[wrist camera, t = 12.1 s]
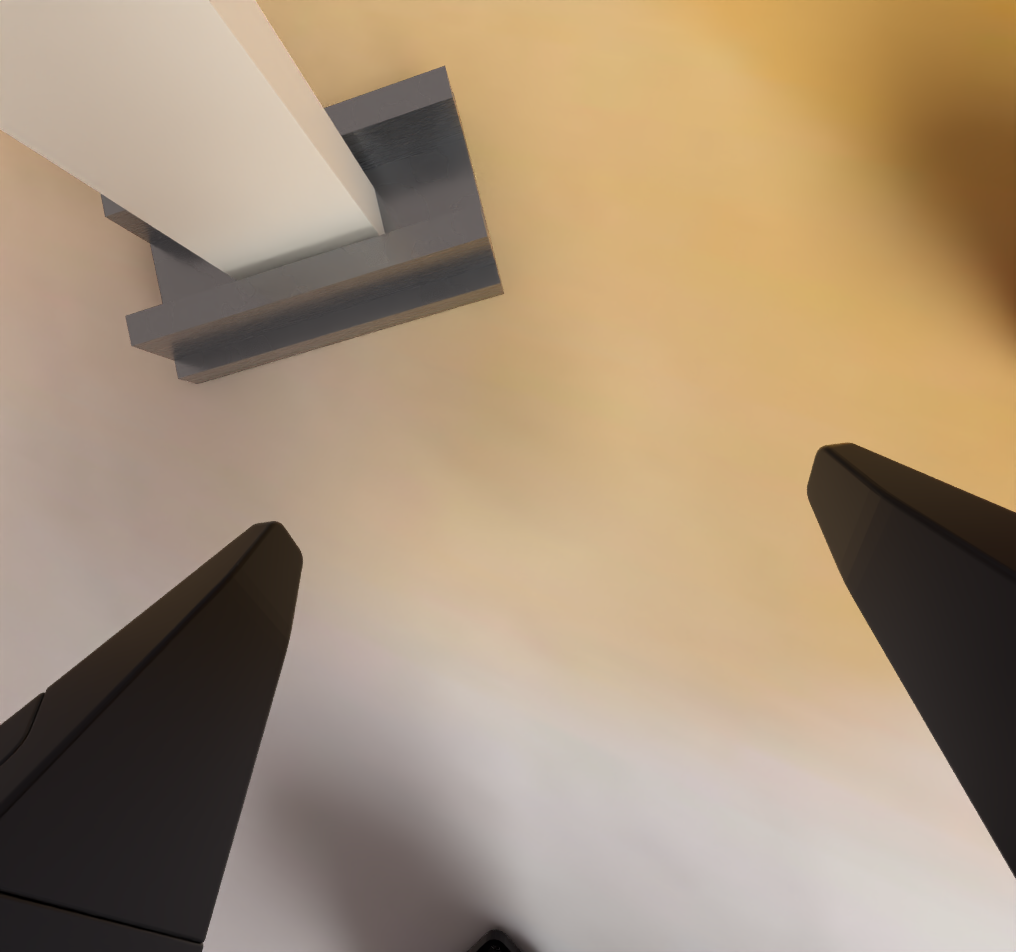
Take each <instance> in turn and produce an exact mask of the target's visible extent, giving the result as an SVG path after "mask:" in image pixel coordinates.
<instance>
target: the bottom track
mask: <svg viewBox="0 0 1016 952" xmlns="http://www.w3.org/2000/svg"><path fill="white" fill-rule="evenodd" d="M324 110H325V111H326V113H327V114H328V116H329V118H330V119H331V121H332V122H333V124H334V126H335V127H336V129H337V130H338V132H339V133H340V135H341V137H342V138H343V140H344V141H345V143H346V145H347V146H348V148H349V149H350V151H351V152H352V154H353V156H354V157H355V159H356V160H357V162H358V164H359V165H360V167H361V168H362V170H363V171H364V173H365V175H366V176H367V178H368V179H369V181H370V183H371V184H372V186H373V187H374V189H375V194H376V198H377V202H378V206H379V210H380V215H381V219H382V223H383V227H384V232H385V234H382V235H379V236H376V237H373V238H370V239H367V240H363V241H360V242H357V243H354V244H351V245H348V246H344V247H341V248H338V249H335V250H332V251H329V252H326V253H322V254H319V255H316V256H313V257H310V258H307V259H303V260H300V261H297V262H294V263H291V264H288V265H285V266H281V267H278V268H275V269H272V270H269V271H266V272H262V273H259V274H256V275H253V276H250V277H247V278H244V279H240V280H235V279H234V278H232V277H231V276H229V275H228V274H226V273H224V272H223V271H221V270H220V269H218V268H217V267H215V266H213V265H212V264H210V263H209V262H207V261H206V260H204V259H202V258H201V257H199V256H198V255H196V254H195V253H193V252H191V251H190V250H188V249H187V248H185V247H184V246H182V245H181V244H179V243H177V242H176V241H174V240H173V239H171V238H170V237H168V236H166V235H165V234H163V233H162V232H160V231H159V230H157V229H155V228H154V227H152V226H151V225H149V224H148V223H146V222H144V221H143V220H141V219H140V218H138V217H137V216H135V215H134V214H132V213H130V212H129V211H127V210H126V209H124V208H123V207H121V206H119V205H118V204H116V203H115V202H113V201H112V200H110V199H108V198H107V197H105V196H104V195H102V194H101V198H102V203H103V208H104V213H105V217H107V218H108V219H110V220H112V221H113V222H115V223H117V224H118V225H120V226H122V227H123V228H125V229H127V230H128V231H130V232H132V233H134V234H135V235H137V236H139V237H140V238H142V239H144V240H145V241H147V242H149V243H150V245H151V250H152V255H153V259H154V264H155V269H156V274H157V279H158V283H159V288H160V293H161V298H162V303H163V304H162V305H158V306H155V307H152V308H149V309H146V310H143V311H139V312H136V313H133V314H130V315H127V316H126V321H127V326H128V331H129V335H130V340H131V345H132V346H133V347H136V348H139V349H142V350H145V351H148V352H151V353H154V354H157V355H160V356H163V357H166V358H169V359H172V360H175V365H176V370H177V374H178V379H181V380H185V381H188V382H192V383H195V384H198V383H201V382H205V381H208V380H212V379H215V378H218V377H222V376H225V375H229V374H232V373H235V372H239V371H242V370H246V369H249V368H252V367H256V366H259V365H263V364H266V363H269V362H273V361H276V360H279V359H283V358H286V357H290V356H293V355H296V354H300V353H303V352H307V351H310V350H313V349H317V348H320V347H324V346H327V345H330V344H334V343H337V342H341V341H344V340H347V339H351V338H354V337H358V336H361V335H364V334H368V333H371V332H375V331H378V330H381V329H385V328H388V327H392V326H395V325H398V324H402V323H405V322H409V321H412V320H415V319H419V318H422V317H426V316H429V315H432V314H436V313H439V312H442V311H446V310H449V309H453V308H456V307H459V306H463V305H466V304H470V303H473V302H476V301H480V300H483V299H487V298H490V297H493V296H497V295H500V294H504V292H503V288H502V284H501V280H500V276H499V272H498V268H497V264H496V260H495V256H494V252H493V248H492V244H491V240H490V236H489V232H488V228H487V224H486V220H485V216H484V212H483V208H482V204H481V200H480V196H479V192H478V188H477V184H476V180H475V176H474V172H473V168H472V164H471V160H470V156H469V152H468V148H467V144H466V140H465V136H464V132H463V128H462V124H461V120H460V116H459V112H458V108H457V105H456V101H455V98H454V94H453V92H452V89H451V86H450V82H449V78H448V75H447V71H446V68H445V66H443V67H440V68H437V69H434V70H431V71H429V72H426V73H423V74H420V75H417V76H414V77H412V78H409V79H406V80H403V81H400V82H397V83H395V84H392V85H389V86H386V87H383V88H380V89H377V90H375V91H372V92H369V93H366V94H363V95H360V96H358V97H355V98H352V99H349V100H346V101H343V102H341V103H338V104H335V105H332V106H329V107H326V108H324Z"/></svg>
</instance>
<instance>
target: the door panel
mask: <svg viewBox="0 0 1016 952" xmlns="http://www.w3.org/2000/svg"><path fill="white" fill-rule="evenodd" d="M0 130H2V131H3V132H5V133H7V134H8V135H10V136H11V137H13V138H14V139H16V140H18V141H19V142H21V143H22V144H24V145H25V146H27V147H29V148H30V149H32V150H33V151H35V152H36V153H38V154H40V155H41V156H43V157H44V158H46V159H47V160H49V161H50V162H52V163H54V164H55V165H57V166H58V167H60V168H61V169H63V170H65V171H66V172H68V173H69V174H71V175H72V176H74V177H76V178H77V179H79V180H80V181H82V182H83V183H85V184H87V185H88V186H90V187H91V188H93V189H94V190H96V191H97V192H99V193H101V194H102V195H104V196H105V197H107V198H108V199H110V200H112V201H113V202H115V203H116V204H118V205H119V206H121V207H123V208H124V209H126V210H127V211H129V212H130V213H132V214H134V215H135V216H137V217H138V218H140V219H141V220H143V221H144V222H146V223H148V224H149V225H151V226H152V227H154V228H155V229H157V230H159V231H160V232H162V233H163V234H165V235H166V236H168V237H170V238H171V239H173V240H174V241H176V242H177V243H179V244H181V245H182V246H184V247H185V248H187V249H188V250H190V251H191V252H193V253H195V254H196V255H198V256H199V257H201V258H202V259H204V260H206V261H207V262H209V263H210V264H212V265H213V266H215V267H217V268H218V269H220V270H221V271H223V272H224V273H226V274H228V275H229V276H231V277H232V278H234V279H235V280H240V279H244V278H247V277H250V276H253V275H256V274H259V273H262V272H266V271H269V270H272V269H275V268H278V267H281V266H285V265H288V264H291V263H294V262H297V261H300V260H303V259H307V258H310V257H313V256H316V255H319V254H322V253H326V252H329V251H332V250H335V249H338V248H341V247H344V246H348V245H351V244H354V243H357V242H360V241H363V240H367V239H370V238H373V237H376V236H379V235H382V234H385V232H384V227H383V223H382V219H381V215H380V210H379V206H378V202H377V198H376V194H375V189H374V187H373V186H372V184H371V183H370V181H369V179H368V178H367V176H366V175H365V173H364V171H363V170H362V168H361V167H360V165H359V164H358V162H357V160H356V159H355V157H354V156H353V154H352V152H351V151H350V149H349V148H348V146H347V145H346V143H345V141H344V140H343V138H342V137H341V135H340V133H339V132H338V130H337V129H336V127H335V126H334V124H333V122H332V121H331V119H330V118H329V116H328V114H327V113H326V111H325V110H324V108H323V107H322V105H321V103H320V102H319V100H318V99H317V97H316V95H315V94H314V92H313V91H312V89H311V88H310V86H309V84H308V83H307V81H306V80H305V78H304V76H303V75H302V73H301V72H300V70H299V69H298V67H297V65H296V64H295V62H294V61H293V59H292V57H291V56H290V54H289V53H288V51H287V50H286V48H285V46H284V45H283V43H282V42H281V40H280V38H279V37H278V35H277V34H276V32H275V31H274V29H273V27H272V26H271V24H270V23H269V21H268V19H267V18H266V16H265V15H264V13H263V12H262V10H261V8H260V7H259V5H258V4H257V2H256V0H0Z"/></svg>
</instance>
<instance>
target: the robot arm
mask: <svg viewBox="0 0 1016 952" xmlns="http://www.w3.org/2000/svg"><path fill="white" fill-rule="evenodd" d="M807 495H808V499H809V502H810V505H811V507H812V509H813V511H814V514H815V516H816V518H817V521H818V523H819V525H820V528H821V530H822V532H823V535H824V537H825V539H826V542H827V544H828V546H829V549H830V551H831V553H832V556H833V558H834V560H835V563H836V565H837V567H838V570H839V572H840V574H841V576H842V578H843V580H844V582H845V584H846V586H847V588H848V590H849V592H850V594H851V595H852V597H853V599H854V601H855V602H856V604H857V606H858V608H859V609H860V611H861V613H862V615H863V616H864V618H865V620H866V621H867V623H868V625H869V627H870V628H871V630H872V632H873V634H874V635H875V637H876V639H877V640H878V642H879V644H880V646H881V647H882V649H883V651H884V652H885V654H886V656H887V658H888V659H889V661H890V663H891V665H892V666H893V668H894V670H895V671H896V673H897V675H898V677H899V678H900V680H901V682H902V684H903V685H904V687H905V689H906V690H907V692H908V694H909V696H910V697H911V699H912V701H913V703H914V704H915V706H916V708H917V709H918V711H919V713H920V715H921V716H922V718H923V720H924V721H925V723H926V725H927V727H928V728H929V730H930V732H931V734H932V735H933V737H934V739H935V740H936V742H937V744H938V746H939V747H940V749H941V751H942V753H943V754H944V756H945V758H946V759H947V761H948V763H949V765H950V766H951V768H952V770H953V772H954V773H955V775H956V777H957V778H958V780H959V782H960V784H961V785H962V787H963V789H964V790H965V792H966V794H967V796H968V797H969V799H970V801H971V803H972V804H973V806H974V808H975V809H976V811H977V813H978V815H979V816H980V818H981V820H982V822H983V823H984V825H985V827H986V828H987V830H988V832H989V834H990V835H991V837H992V839H993V841H994V842H995V844H996V846H997V847H998V849H999V851H1000V853H1001V854H1002V856H1003V858H1004V859H1005V861H1006V863H1007V865H1008V866H1009V868H1010V870H1011V872H1012V873H1013V875H1014V877H1015V878H1016V513H1015V512H1013V511H1011V510H1008V509H1006V508H1004V507H1001V506H999V505H997V504H994V503H992V502H989V501H987V500H985V499H982V498H980V497H978V496H975V495H973V494H971V493H968V492H966V491H964V490H961V489H959V488H957V487H954V486H952V485H950V484H947V483H945V482H943V481H940V480H938V479H935V478H933V477H931V476H928V475H926V474H924V473H921V472H919V471H917V470H914V469H912V468H910V467H907V466H905V465H903V464H900V463H898V462H896V461H893V460H891V459H889V458H886V457H884V456H881V455H879V454H877V453H874V452H872V451H870V450H867V449H865V448H863V447H860V446H858V445H856V444H853V443H840V444H833V445H825V446H823V447H821V448H820V449H819V450H818V451H817V453H816V456H815V459H814V463H813V466H812V470H811V474H810V477H809V481H808V485H807ZM302 566H303V557H302V553H301V551H300V549H299V548H298V546H297V545H296V543H295V542H294V540H293V539H292V537H291V536H290V534H289V533H288V531H287V530H286V529H285V527H284V526H283V525H282V524H281V523H279V522H276V521H271V522H264V523H258V524H255V525H253V526H251V527H250V528H249V529H247V530H246V531H245V532H244V533H242V534H241V535H240V536H239V537H237V538H236V539H235V540H233V541H232V542H231V543H230V544H228V545H227V546H226V547H225V548H223V549H222V550H221V551H220V552H218V553H217V554H216V555H215V556H213V557H212V558H211V559H210V560H208V561H207V562H206V563H205V564H203V565H202V566H201V567H199V568H198V569H197V570H196V571H194V572H193V573H192V574H191V575H189V576H188V577H187V578H186V579H184V580H183V581H182V582H181V583H179V584H178V585H177V586H176V587H174V588H173V589H172V590H170V591H169V592H168V593H167V594H165V595H164V596H163V597H162V598H160V599H159V600H158V601H157V602H155V603H154V604H153V605H152V606H150V607H149V608H148V609H147V610H145V611H144V612H143V613H142V614H140V615H139V616H138V617H136V618H135V619H134V620H133V621H131V622H130V623H129V624H128V625H126V626H125V627H124V628H123V629H121V630H120V631H119V632H118V633H116V634H115V635H114V636H113V637H111V638H110V639H109V640H107V641H106V642H105V643H104V644H102V645H101V646H100V647H99V648H97V649H96V650H95V651H94V652H92V653H91V654H90V655H89V656H87V657H86V658H85V659H84V660H82V661H81V662H80V663H79V664H77V665H76V666H75V667H73V668H72V669H71V670H70V671H68V672H67V673H66V674H65V675H63V676H62V677H61V678H60V679H58V680H57V681H56V682H55V683H53V684H52V685H51V686H50V687H48V688H47V690H46V692H45V693H41V694H39V695H38V696H37V697H35V698H34V699H33V700H32V701H30V702H29V703H28V704H27V705H25V706H24V707H23V708H22V709H20V710H19V711H18V712H17V713H15V714H14V715H13V716H12V717H10V718H9V719H8V720H6V721H5V722H4V723H2V724H1V725H0V952H202V950H203V942H204V940H205V938H206V934H207V931H208V927H209V924H210V920H211V917H212V913H213V910H214V906H215V902H216V899H217V895H218V892H219V888H220V885H221V881H222V878H223V874H224V871H225V867H226V864H227V860H228V857H229V853H230V850H231V846H232V842H233V839H234V835H235V832H236V828H237V825H238V821H239V818H240V814H241V811H242V807H243V804H244V800H245V797H246V793H247V789H248V786H249V782H250V779H251V775H252V772H253V768H254V765H255V761H256V758H257V754H258V751H259V747H260V744H261V740H262V737H263V733H264V729H265V726H266V722H267V719H268V715H269V712H270V708H271V705H272V701H273V698H274V694H275V691H276V687H277V684H278V680H279V677H280V673H281V669H282V666H283V662H284V659H285V655H286V651H287V648H288V644H289V639H290V634H291V630H292V624H293V618H294V612H295V606H296V601H297V595H298V589H299V583H300V577H301V571H302ZM492 946H497V947H499V948H500V949H499V950H498V949H494V948H492ZM468 952H521V951H520V950H519V949H518V948H517V947H516V945H515V944H514V943H513V942H512V941H511V940H510V939H509V938H508V937H507V935H506V934H504V933H503V932H502V931H500V930H491V931H489V932H488V933H486V934H485V935H484V936H483V937H482V938H481V939H480V940H479V941H478V942H477V943H476V944H475V945H474V946H473V947H472V948H471V949H470V950H469V951H468Z"/></svg>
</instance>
